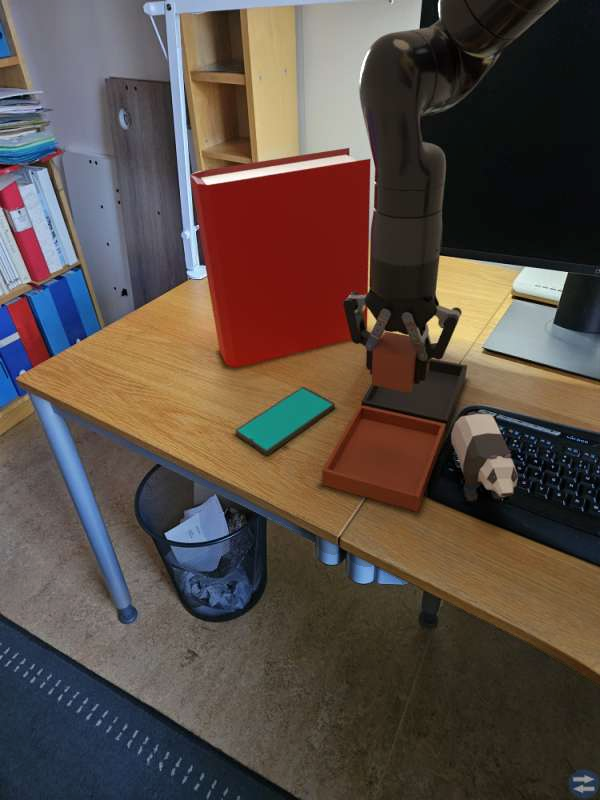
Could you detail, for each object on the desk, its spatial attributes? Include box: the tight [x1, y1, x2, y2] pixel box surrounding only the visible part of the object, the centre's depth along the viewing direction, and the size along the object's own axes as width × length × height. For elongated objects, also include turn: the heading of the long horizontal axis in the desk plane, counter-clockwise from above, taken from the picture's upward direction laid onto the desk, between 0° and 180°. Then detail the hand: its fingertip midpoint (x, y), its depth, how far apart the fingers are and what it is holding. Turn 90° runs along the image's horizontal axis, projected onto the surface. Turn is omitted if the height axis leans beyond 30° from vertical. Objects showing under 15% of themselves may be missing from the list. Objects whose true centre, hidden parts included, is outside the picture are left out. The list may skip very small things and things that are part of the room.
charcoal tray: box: [360, 358, 468, 436], centre depth 90 cm, size 13×15×3 cm
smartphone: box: [235, 386, 336, 456], centre depth 87 cm, size 7×1×15 cm
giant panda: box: [450, 411, 519, 502], centre depth 71 cm, size 15×6×10 cm, turn 2°
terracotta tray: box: [321, 404, 446, 512], centre depth 78 cm, size 13×15×3 cm
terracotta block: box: [371, 331, 417, 393], centre depth 70 cm, size 5×5×5 cm
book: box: [189, 147, 372, 368], centre depth 97 cm, size 27×8×32 cm, turn 110°
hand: (396, 375), depth 71 cm, fingers closed on terracotta block, 5 cm apart
